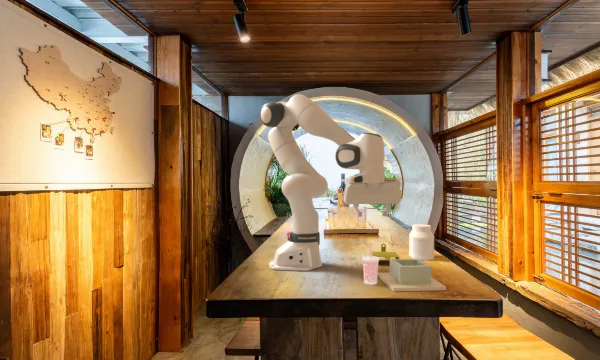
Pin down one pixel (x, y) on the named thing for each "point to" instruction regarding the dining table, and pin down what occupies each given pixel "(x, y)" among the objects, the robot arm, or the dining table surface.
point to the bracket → (385, 253)
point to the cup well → (410, 276)
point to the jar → (421, 242)
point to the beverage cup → (370, 269)
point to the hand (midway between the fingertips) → (372, 216)
